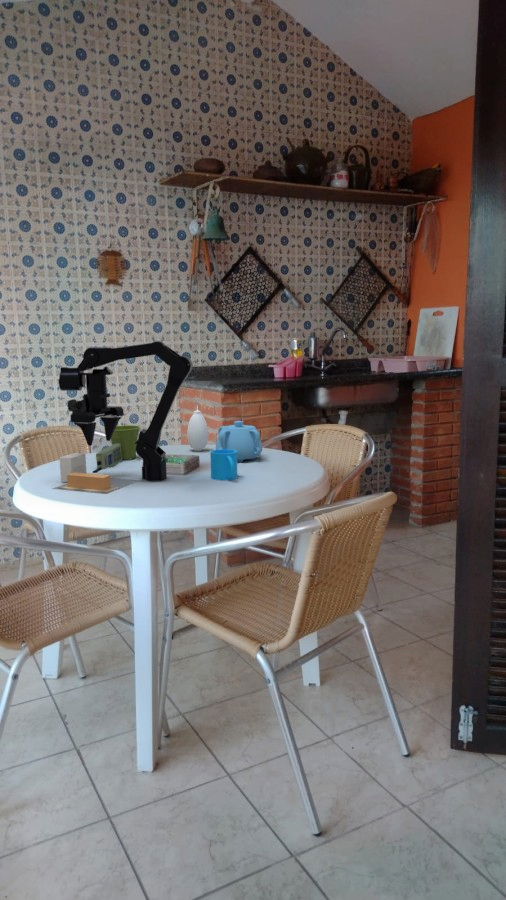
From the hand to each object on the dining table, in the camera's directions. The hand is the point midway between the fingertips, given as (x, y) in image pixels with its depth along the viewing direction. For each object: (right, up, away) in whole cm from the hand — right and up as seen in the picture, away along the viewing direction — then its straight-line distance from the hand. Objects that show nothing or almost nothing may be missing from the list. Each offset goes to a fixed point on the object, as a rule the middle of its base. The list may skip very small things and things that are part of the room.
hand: (99, 443), depth 192 cm
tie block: (-8, -11, +1) cm, 14 cm away
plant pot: (0, -5, +41) cm, 41 cm away
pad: (-1, -13, -10) cm, 16 cm away
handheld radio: (-3, -9, +24) cm, 26 cm away
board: (+1, -13, -4) cm, 14 cm away
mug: (+37, -11, +6) cm, 40 cm away
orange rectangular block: (-1, -13, -10) cm, 16 cm away
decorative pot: (+41, -5, +38) cm, 56 cm away
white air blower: (+25, -3, +54) cm, 60 cm away
